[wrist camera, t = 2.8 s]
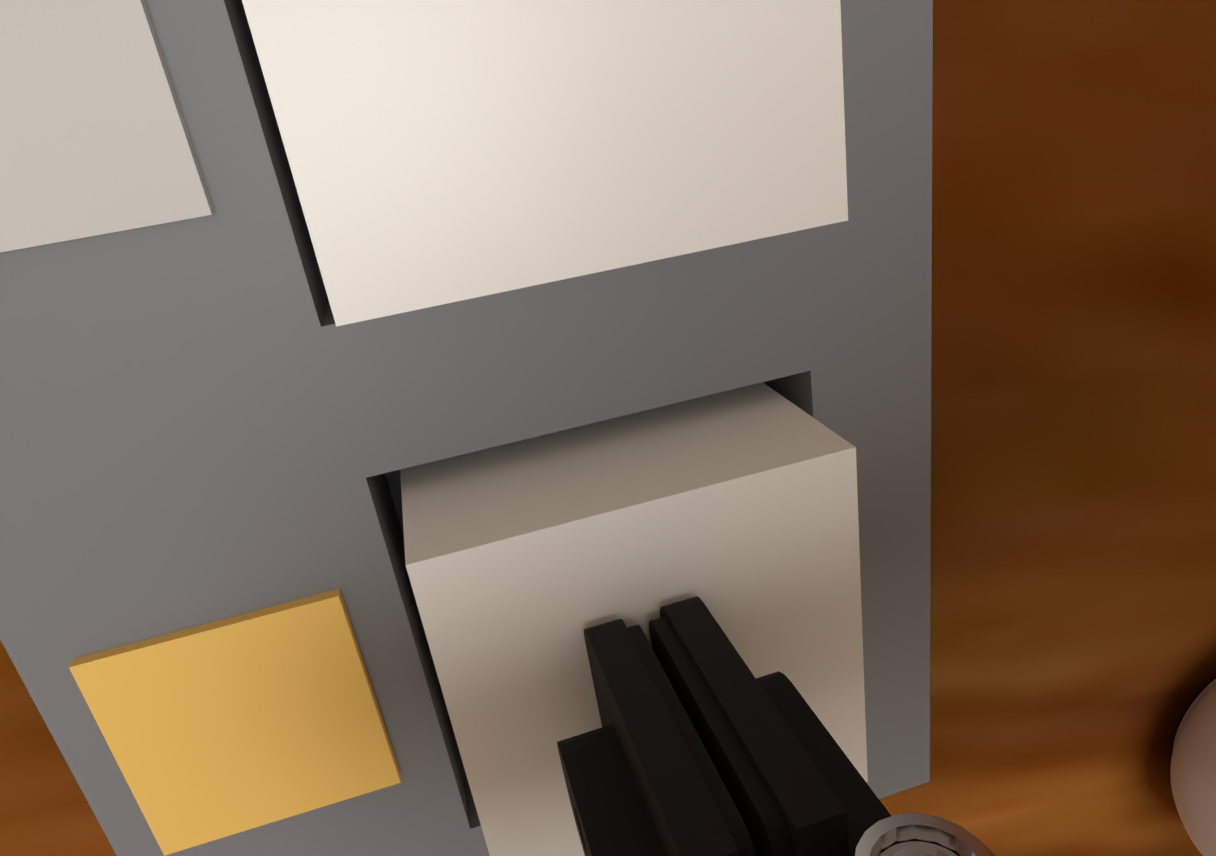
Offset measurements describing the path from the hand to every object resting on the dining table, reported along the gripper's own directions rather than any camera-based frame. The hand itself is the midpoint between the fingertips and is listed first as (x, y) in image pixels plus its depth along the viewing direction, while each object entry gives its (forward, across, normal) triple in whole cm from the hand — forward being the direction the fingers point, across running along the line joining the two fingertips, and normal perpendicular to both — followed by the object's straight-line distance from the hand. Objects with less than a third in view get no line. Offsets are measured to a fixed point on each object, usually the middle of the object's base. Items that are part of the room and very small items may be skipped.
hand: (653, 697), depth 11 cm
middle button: (+3, 0, -9) cm, 9 cm away
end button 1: (+3, 0, 0) cm, 3 cm away
